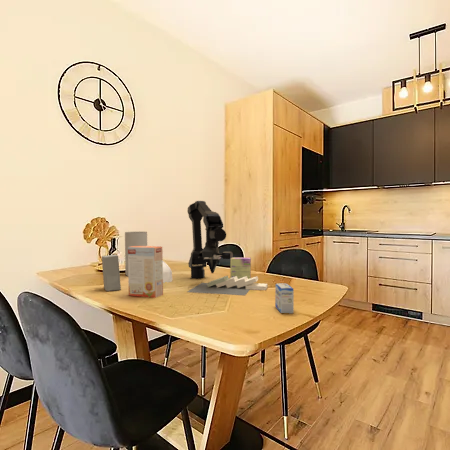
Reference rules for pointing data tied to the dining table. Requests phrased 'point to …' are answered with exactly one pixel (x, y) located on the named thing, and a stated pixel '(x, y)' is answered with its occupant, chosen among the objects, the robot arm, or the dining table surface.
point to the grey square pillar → (133, 243)
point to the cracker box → (145, 271)
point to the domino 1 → (217, 281)
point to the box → (240, 267)
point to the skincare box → (111, 272)
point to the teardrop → (166, 273)
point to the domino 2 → (227, 281)
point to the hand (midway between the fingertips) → (212, 273)
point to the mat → (219, 289)
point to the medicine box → (284, 298)
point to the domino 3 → (237, 282)
